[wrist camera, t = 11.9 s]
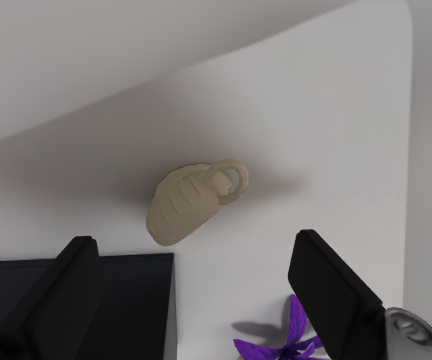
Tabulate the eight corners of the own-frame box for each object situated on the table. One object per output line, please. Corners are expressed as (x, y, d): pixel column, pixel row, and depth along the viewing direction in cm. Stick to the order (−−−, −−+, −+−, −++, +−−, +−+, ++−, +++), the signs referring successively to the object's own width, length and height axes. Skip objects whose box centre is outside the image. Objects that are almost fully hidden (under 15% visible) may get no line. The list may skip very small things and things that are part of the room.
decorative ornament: (135, 200, 16) (112, 244, 11) (219, 134, 15) (233, 151, 10) (170, 232, 18) (163, 284, 13) (249, 174, 17) (274, 206, 12)
